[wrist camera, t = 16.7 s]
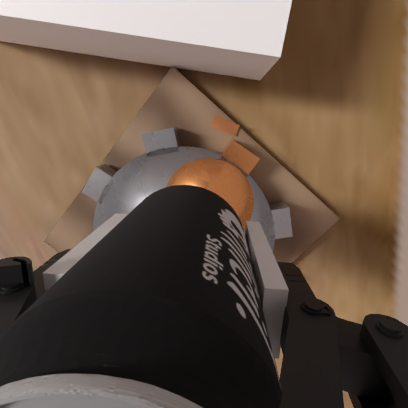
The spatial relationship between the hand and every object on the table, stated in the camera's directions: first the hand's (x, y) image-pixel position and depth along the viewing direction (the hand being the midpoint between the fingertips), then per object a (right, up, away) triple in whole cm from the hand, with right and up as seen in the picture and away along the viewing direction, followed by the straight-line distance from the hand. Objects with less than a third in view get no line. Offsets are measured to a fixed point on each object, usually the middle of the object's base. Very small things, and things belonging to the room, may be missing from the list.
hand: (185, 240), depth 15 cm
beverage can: (0, 0, +1) cm, 1 cm away
